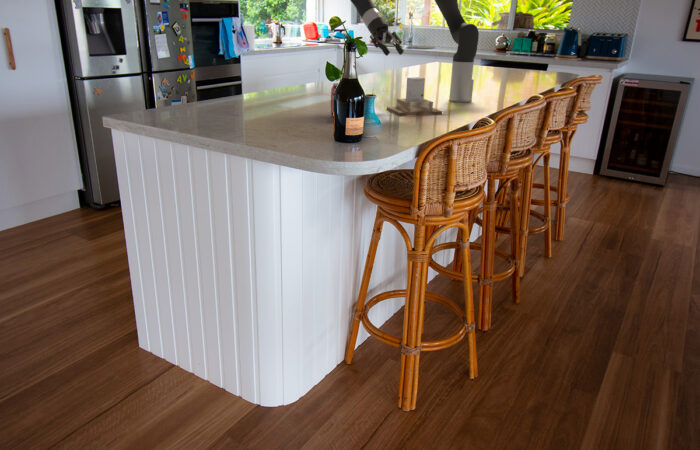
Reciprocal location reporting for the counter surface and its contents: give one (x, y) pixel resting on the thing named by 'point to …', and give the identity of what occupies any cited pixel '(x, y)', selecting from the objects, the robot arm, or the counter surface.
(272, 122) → the counter surface
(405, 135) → the counter surface
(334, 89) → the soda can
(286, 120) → the counter surface
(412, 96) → the skincare box
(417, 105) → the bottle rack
